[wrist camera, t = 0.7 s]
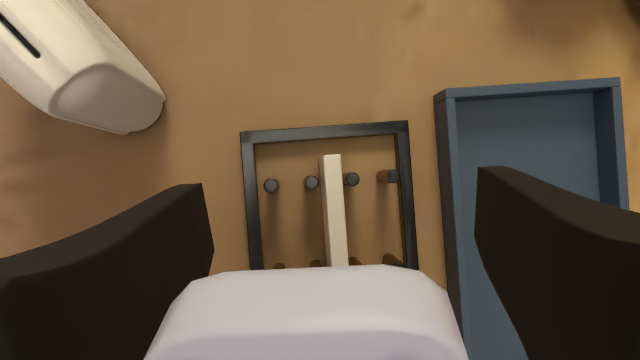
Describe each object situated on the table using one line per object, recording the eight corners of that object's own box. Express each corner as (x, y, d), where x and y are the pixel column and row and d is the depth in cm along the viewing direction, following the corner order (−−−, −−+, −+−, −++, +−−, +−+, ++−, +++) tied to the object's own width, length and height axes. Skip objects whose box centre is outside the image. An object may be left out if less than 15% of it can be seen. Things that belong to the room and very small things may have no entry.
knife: (360, 383, 32) (372, 421, 27) (326, 386, 32) (333, 425, 27) (342, 156, 32) (352, 152, 27) (309, 159, 32) (312, 155, 27)
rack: (418, 302, 32) (434, 317, 29) (255, 317, 32) (250, 334, 28) (405, 121, 32) (419, 114, 29) (240, 133, 32) (234, 127, 28)
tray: (617, 395, 33) (644, 413, 31) (456, 412, 33) (470, 432, 30) (595, 84, 33) (620, 76, 31) (433, 95, 32) (444, 88, 30)
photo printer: (16, 25, 31) (-167, -76, 18) (68, -20, 31) (-79, -149, 19) (128, 147, 31) (23, 128, 19) (179, 102, 31) (107, 54, 19)
